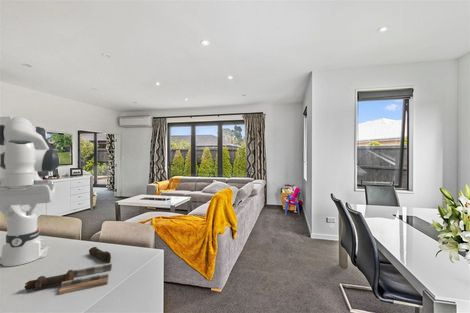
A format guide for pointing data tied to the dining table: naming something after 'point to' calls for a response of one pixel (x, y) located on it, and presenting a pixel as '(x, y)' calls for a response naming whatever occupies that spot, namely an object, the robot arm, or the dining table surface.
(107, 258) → the carved wooden phallus
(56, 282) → the bolt
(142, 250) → the dining table surface
